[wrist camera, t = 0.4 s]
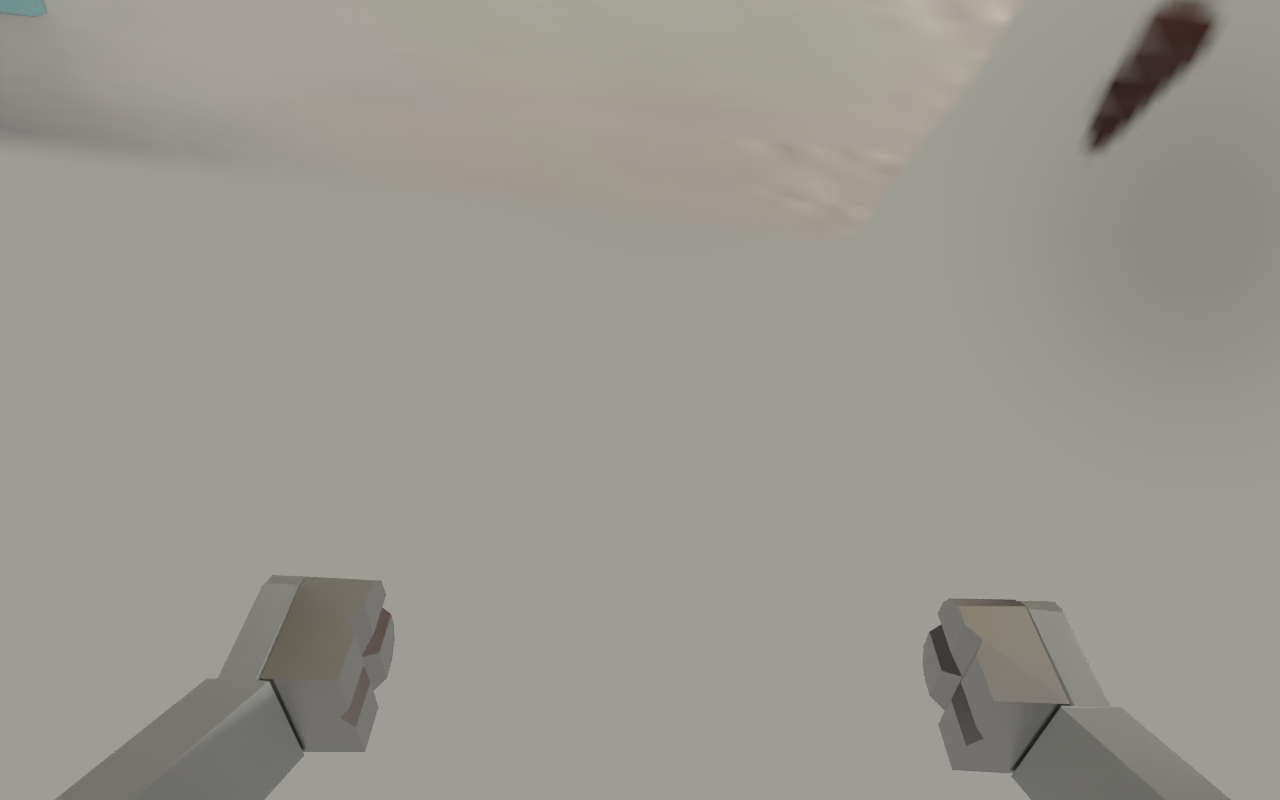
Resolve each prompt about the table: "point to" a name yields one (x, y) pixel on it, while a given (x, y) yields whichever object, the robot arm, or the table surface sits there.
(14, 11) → the duct flange
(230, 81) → the table surface
